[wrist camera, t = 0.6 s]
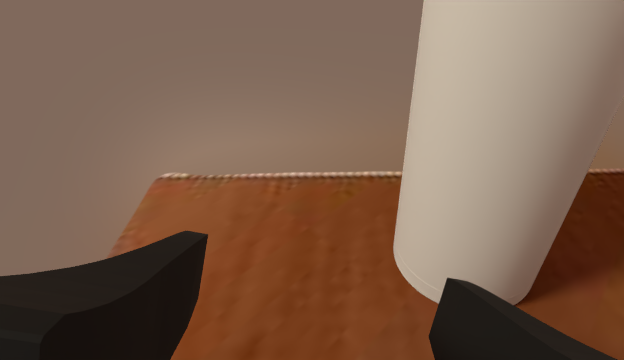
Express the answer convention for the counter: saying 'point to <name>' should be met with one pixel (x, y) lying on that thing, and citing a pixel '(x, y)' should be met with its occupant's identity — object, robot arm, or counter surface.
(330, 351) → the counter surface
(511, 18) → the cylinder
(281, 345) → the counter surface
